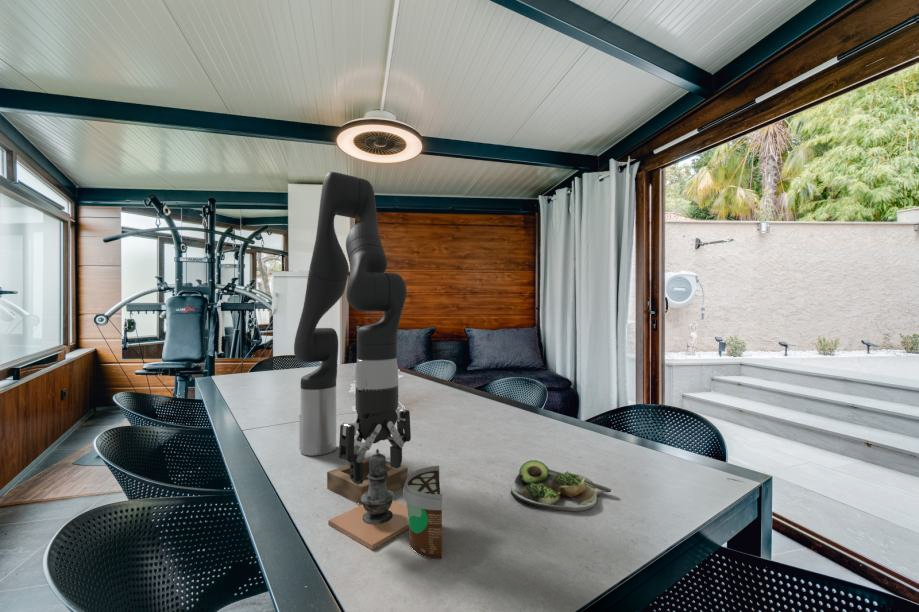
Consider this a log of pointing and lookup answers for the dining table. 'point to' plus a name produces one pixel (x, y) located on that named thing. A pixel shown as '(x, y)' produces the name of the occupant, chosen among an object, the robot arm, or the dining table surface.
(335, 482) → the walnut socket block
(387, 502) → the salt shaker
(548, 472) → the avocado toast plate
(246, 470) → the dining table surface
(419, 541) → the food container
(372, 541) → the terracotta tile
